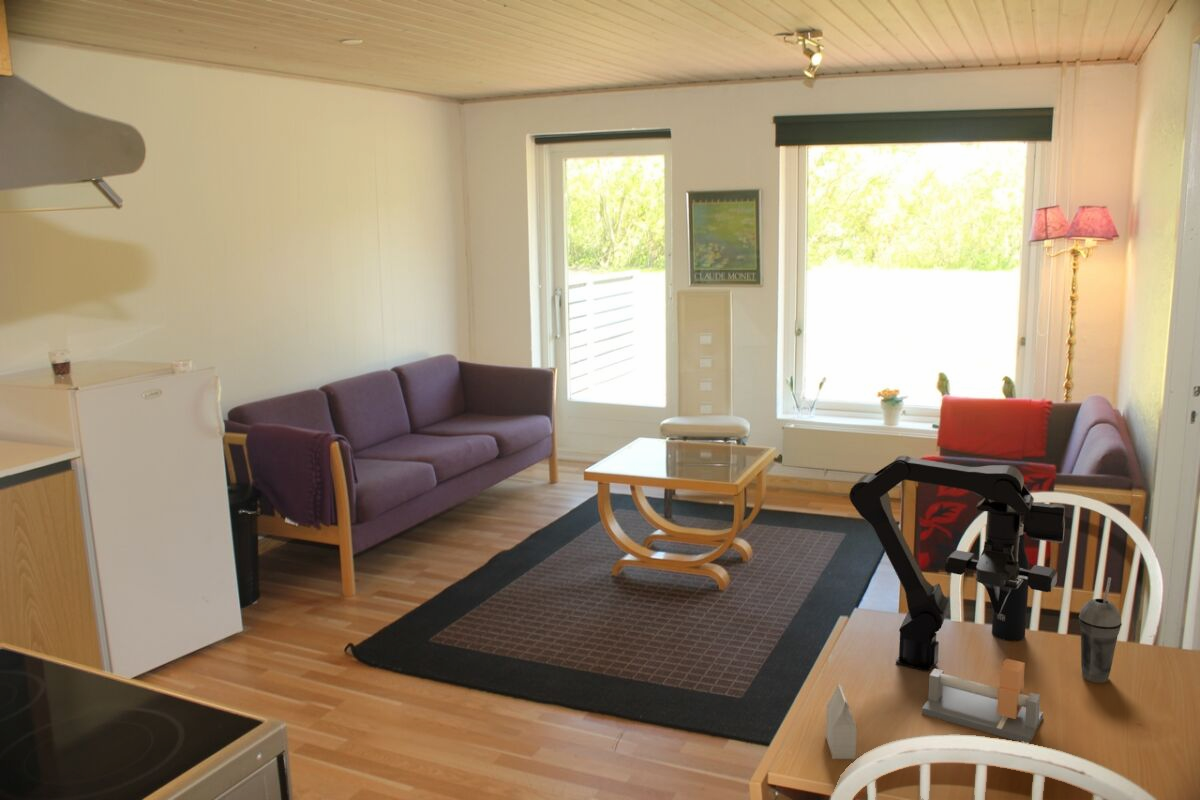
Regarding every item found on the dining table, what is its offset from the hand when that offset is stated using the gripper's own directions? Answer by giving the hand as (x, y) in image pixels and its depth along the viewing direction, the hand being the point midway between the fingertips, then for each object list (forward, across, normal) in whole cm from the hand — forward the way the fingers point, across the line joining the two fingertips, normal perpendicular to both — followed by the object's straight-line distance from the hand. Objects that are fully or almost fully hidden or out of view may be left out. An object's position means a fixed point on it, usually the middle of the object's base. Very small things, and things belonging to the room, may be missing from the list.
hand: (997, 613), depth 184 cm
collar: (+11, +7, -16) cm, 20 cm away
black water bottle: (+13, -2, +20) cm, 24 cm away
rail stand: (+13, +2, -16) cm, 21 cm away
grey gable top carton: (+13, -15, -39) cm, 44 cm away
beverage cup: (+13, +16, +10) cm, 23 cm away
